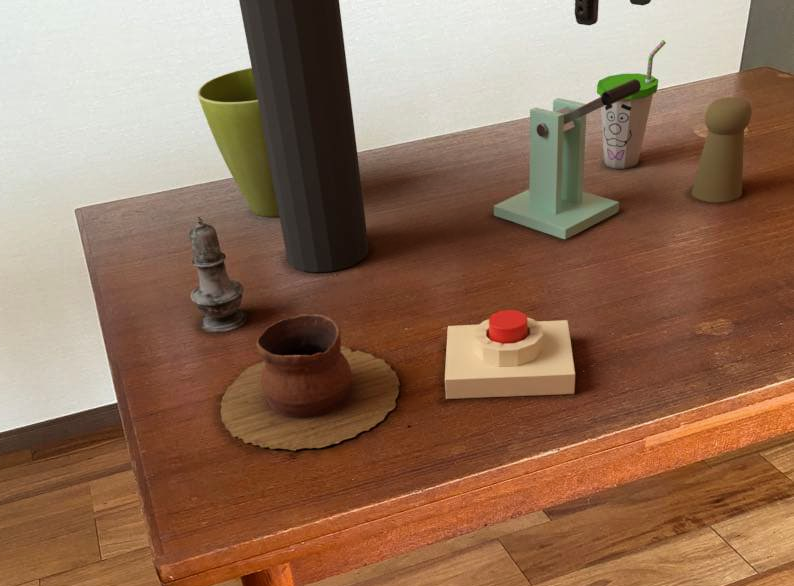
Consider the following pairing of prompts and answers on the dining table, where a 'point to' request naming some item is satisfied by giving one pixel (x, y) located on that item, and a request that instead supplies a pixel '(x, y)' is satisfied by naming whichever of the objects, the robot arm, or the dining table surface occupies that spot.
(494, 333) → the button
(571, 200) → the bracket
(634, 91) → the lever
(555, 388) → the button block
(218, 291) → the salt shaker
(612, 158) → the cup
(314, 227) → the dark grey column
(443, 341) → the dining table surface
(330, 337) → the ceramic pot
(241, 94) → the flower pot
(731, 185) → the olive pawn
